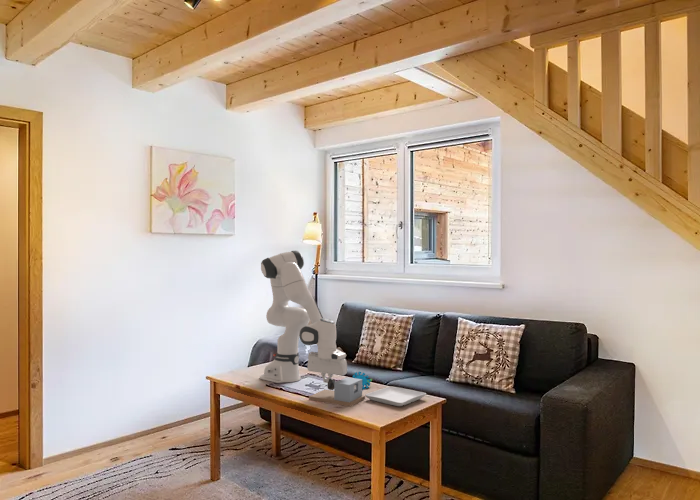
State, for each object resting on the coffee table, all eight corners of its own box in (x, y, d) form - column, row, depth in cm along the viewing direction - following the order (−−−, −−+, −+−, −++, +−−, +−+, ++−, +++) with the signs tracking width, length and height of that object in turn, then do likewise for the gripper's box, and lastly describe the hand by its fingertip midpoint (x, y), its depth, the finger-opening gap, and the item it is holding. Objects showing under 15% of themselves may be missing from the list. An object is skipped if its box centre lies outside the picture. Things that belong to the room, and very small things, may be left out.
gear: (355, 387, 261) (351, 370, 268) (350, 393, 265) (347, 376, 272) (375, 388, 266) (370, 371, 272) (370, 394, 269) (366, 377, 276)
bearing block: (309, 399, 245) (309, 379, 245) (324, 392, 258) (325, 373, 258) (350, 406, 235) (350, 385, 235) (364, 398, 247) (365, 379, 247)
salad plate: (363, 401, 245) (363, 393, 245) (390, 392, 261) (390, 385, 261) (401, 410, 231) (401, 402, 231) (427, 400, 247) (427, 392, 247)
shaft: (327, 390, 246) (327, 380, 246) (332, 388, 250) (332, 377, 250) (352, 394, 239) (352, 383, 239) (357, 392, 244) (358, 381, 244)
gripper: (304, 352, 252) (304, 381, 252) (342, 356, 242) (342, 386, 242) (311, 350, 257) (311, 378, 257) (348, 354, 248) (348, 383, 248)
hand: (326, 382), depth 250 cm, fingers closed
